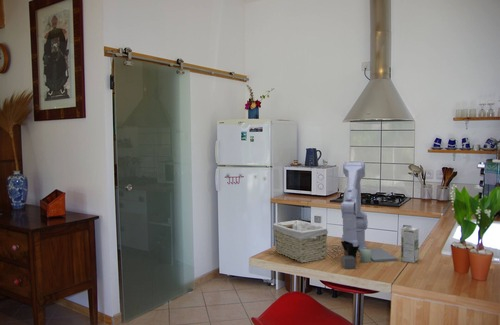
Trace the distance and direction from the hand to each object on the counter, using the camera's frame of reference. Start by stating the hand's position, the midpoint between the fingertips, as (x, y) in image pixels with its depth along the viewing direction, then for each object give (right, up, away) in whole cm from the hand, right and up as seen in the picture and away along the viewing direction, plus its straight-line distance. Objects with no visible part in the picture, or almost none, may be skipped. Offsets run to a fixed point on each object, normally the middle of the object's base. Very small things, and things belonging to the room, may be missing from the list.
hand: (350, 258), depth 174 cm
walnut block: (0, -1, 0) cm, 1 cm away
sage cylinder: (+7, -1, +1) cm, 7 cm away
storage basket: (-20, -2, +13) cm, 24 cm away
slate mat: (+15, -1, +9) cm, 17 cm away
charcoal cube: (-2, -2, -7) cm, 8 cm away
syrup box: (+26, -1, 0) cm, 26 cm away
